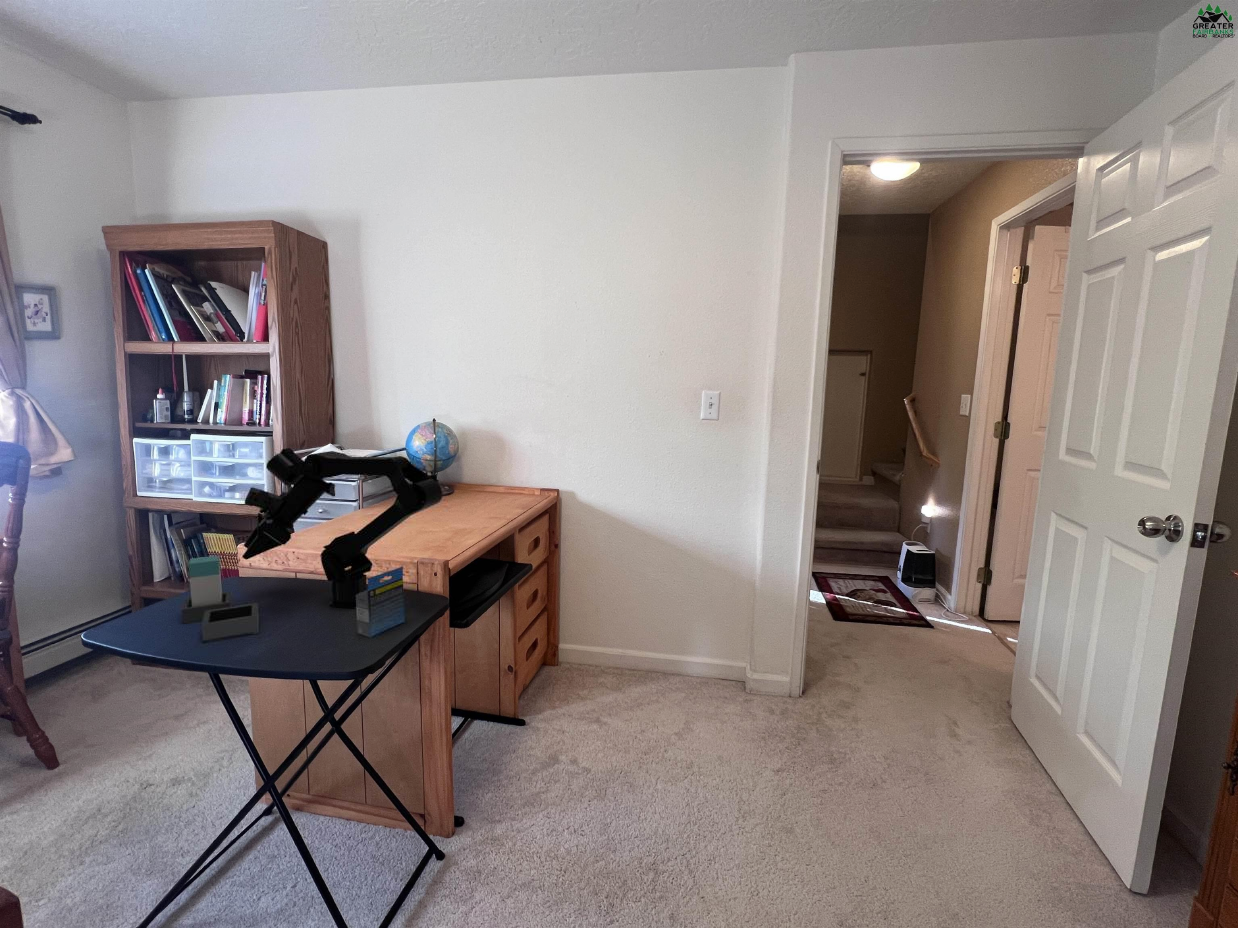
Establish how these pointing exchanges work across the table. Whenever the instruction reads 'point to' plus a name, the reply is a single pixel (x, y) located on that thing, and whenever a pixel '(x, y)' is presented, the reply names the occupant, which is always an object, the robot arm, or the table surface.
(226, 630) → the port
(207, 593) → the plug
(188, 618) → the frame
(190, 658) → the table surface
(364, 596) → the label tape cartridge
